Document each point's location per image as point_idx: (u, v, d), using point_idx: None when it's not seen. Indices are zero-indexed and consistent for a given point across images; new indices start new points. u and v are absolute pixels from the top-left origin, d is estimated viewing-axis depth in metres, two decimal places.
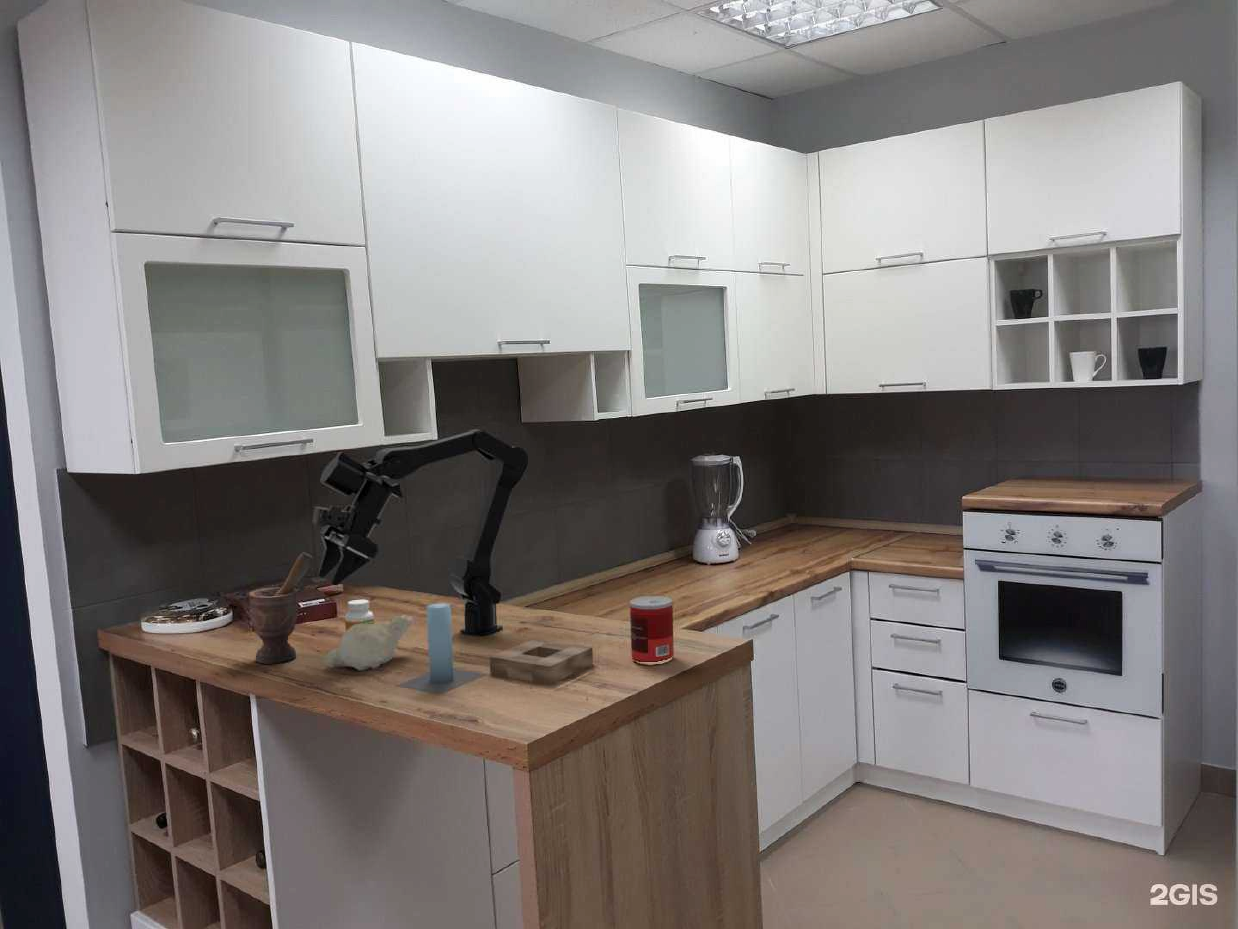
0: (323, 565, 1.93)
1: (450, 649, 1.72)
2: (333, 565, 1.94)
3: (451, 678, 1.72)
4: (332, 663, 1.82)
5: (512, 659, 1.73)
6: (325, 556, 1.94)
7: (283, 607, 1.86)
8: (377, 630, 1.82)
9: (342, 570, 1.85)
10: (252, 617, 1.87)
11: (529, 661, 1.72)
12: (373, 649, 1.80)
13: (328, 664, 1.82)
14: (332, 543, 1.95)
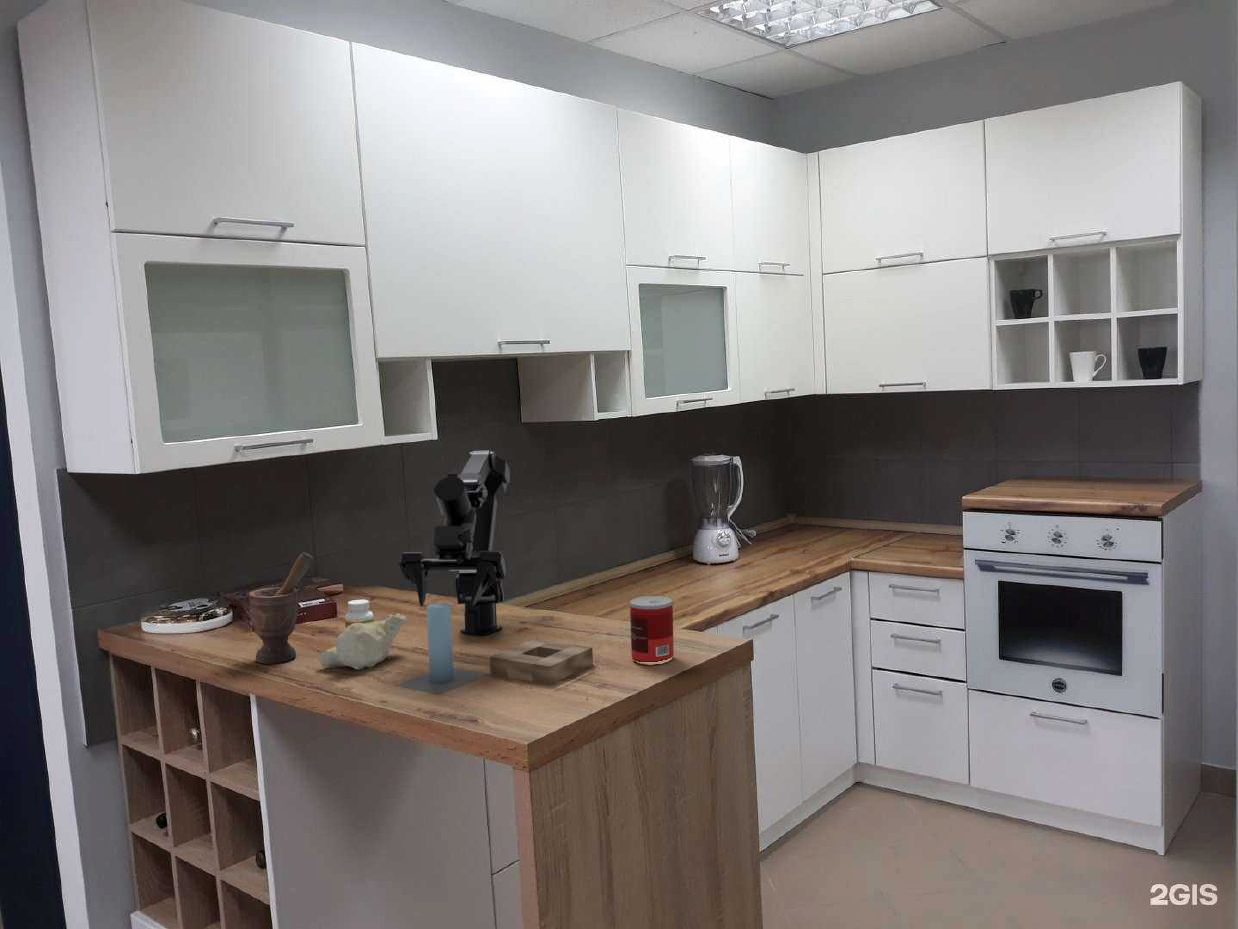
0: (422, 593, 1.79)
1: (450, 649, 1.72)
2: (425, 594, 1.81)
3: (451, 678, 1.72)
4: (328, 663, 1.82)
5: (512, 659, 1.73)
6: (422, 584, 1.79)
7: (283, 607, 1.86)
8: (373, 629, 1.82)
9: (480, 589, 1.79)
10: (252, 617, 1.87)
11: (529, 661, 1.72)
12: (370, 648, 1.80)
13: (323, 664, 1.82)
14: (423, 571, 1.81)
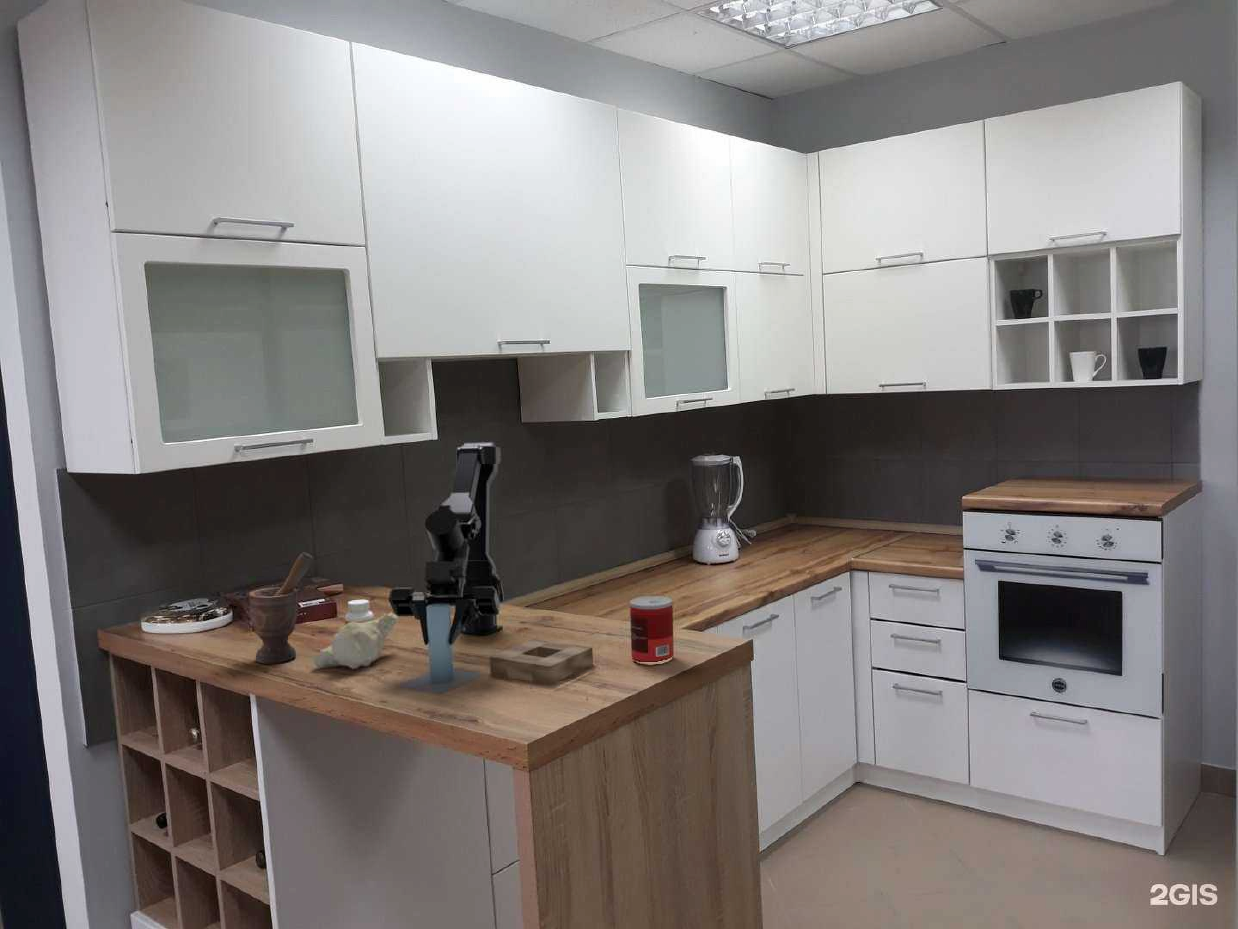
0: (427, 631, 1.72)
1: (450, 649, 1.72)
2: None
3: (451, 678, 1.72)
4: (323, 663, 1.82)
5: (512, 659, 1.73)
6: (426, 621, 1.73)
7: (283, 607, 1.86)
8: (368, 628, 1.83)
9: (458, 627, 1.72)
10: (252, 617, 1.87)
11: (529, 661, 1.72)
12: (366, 647, 1.81)
13: (318, 664, 1.82)
14: None
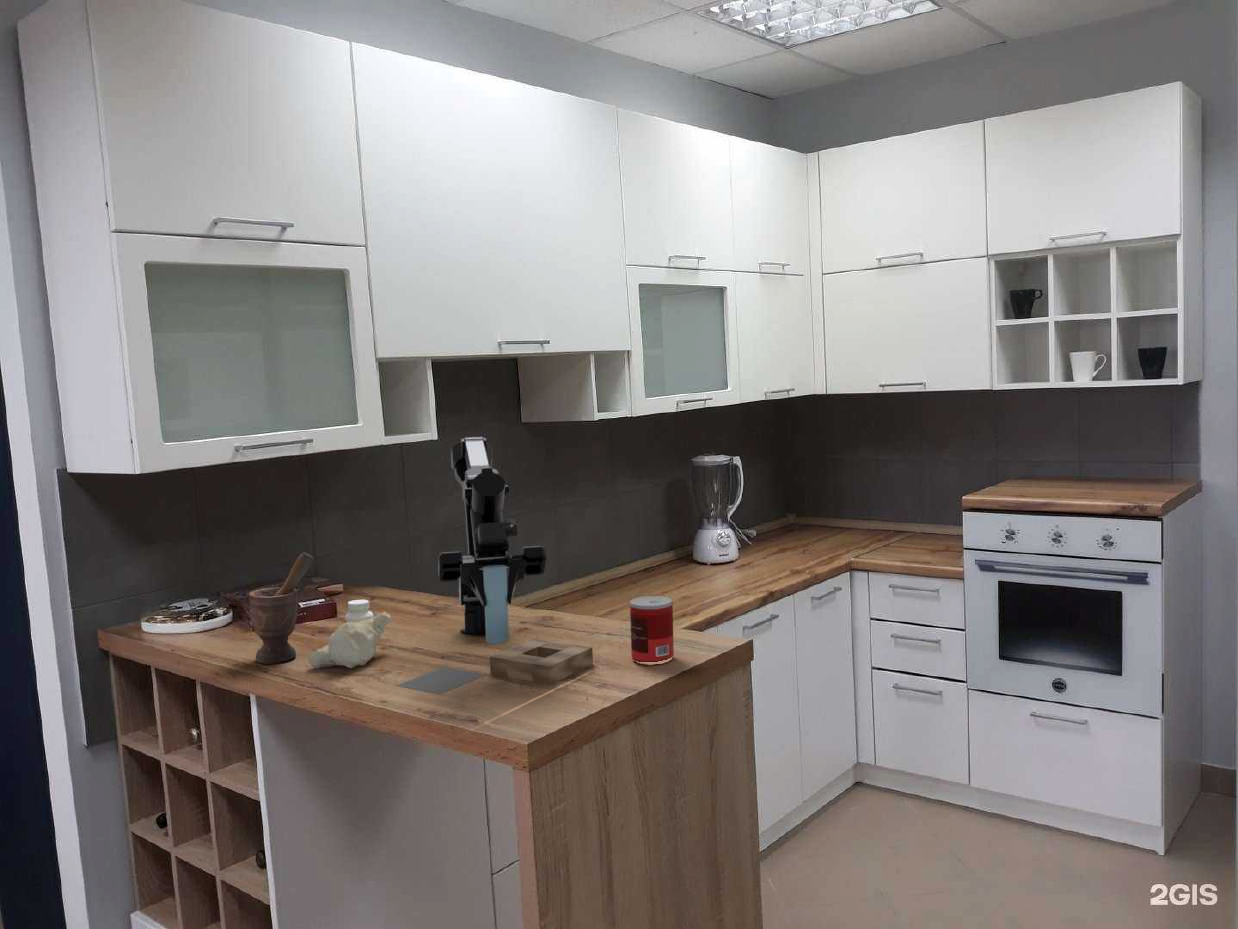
0: None
1: (507, 609, 1.73)
2: None
3: (508, 638, 1.73)
4: (318, 663, 1.82)
5: (512, 659, 1.73)
6: (481, 583, 1.73)
7: (283, 607, 1.86)
8: (364, 628, 1.84)
9: None
10: (252, 617, 1.87)
11: (529, 661, 1.72)
12: (363, 646, 1.82)
13: (313, 665, 1.82)
14: None
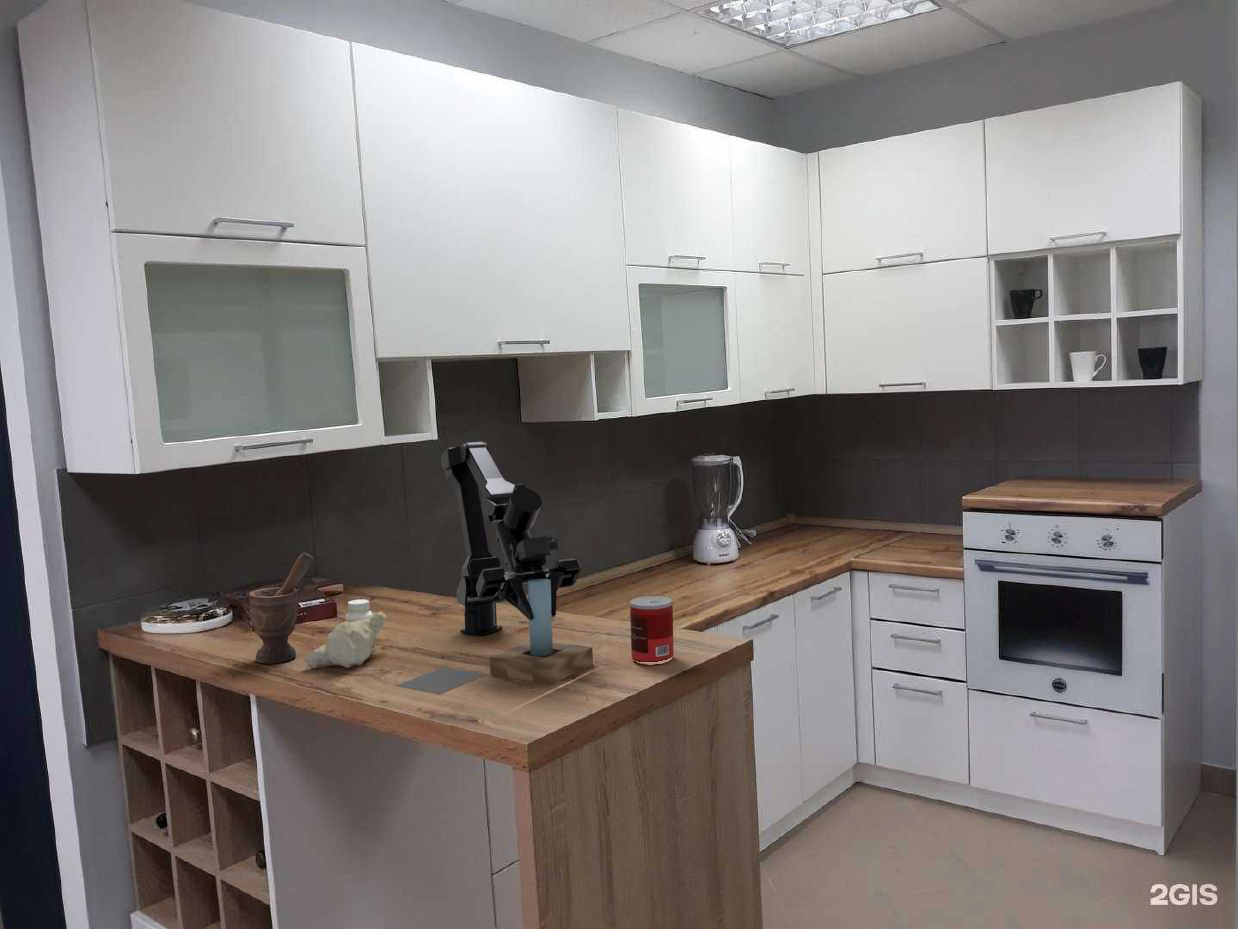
0: None
1: None
2: None
3: (552, 650, 1.77)
4: (315, 663, 1.82)
5: (512, 659, 1.73)
6: None
7: (283, 607, 1.86)
8: (361, 628, 1.84)
9: None
10: (252, 617, 1.87)
11: (529, 661, 1.72)
12: (360, 646, 1.82)
13: (310, 665, 1.82)
14: None
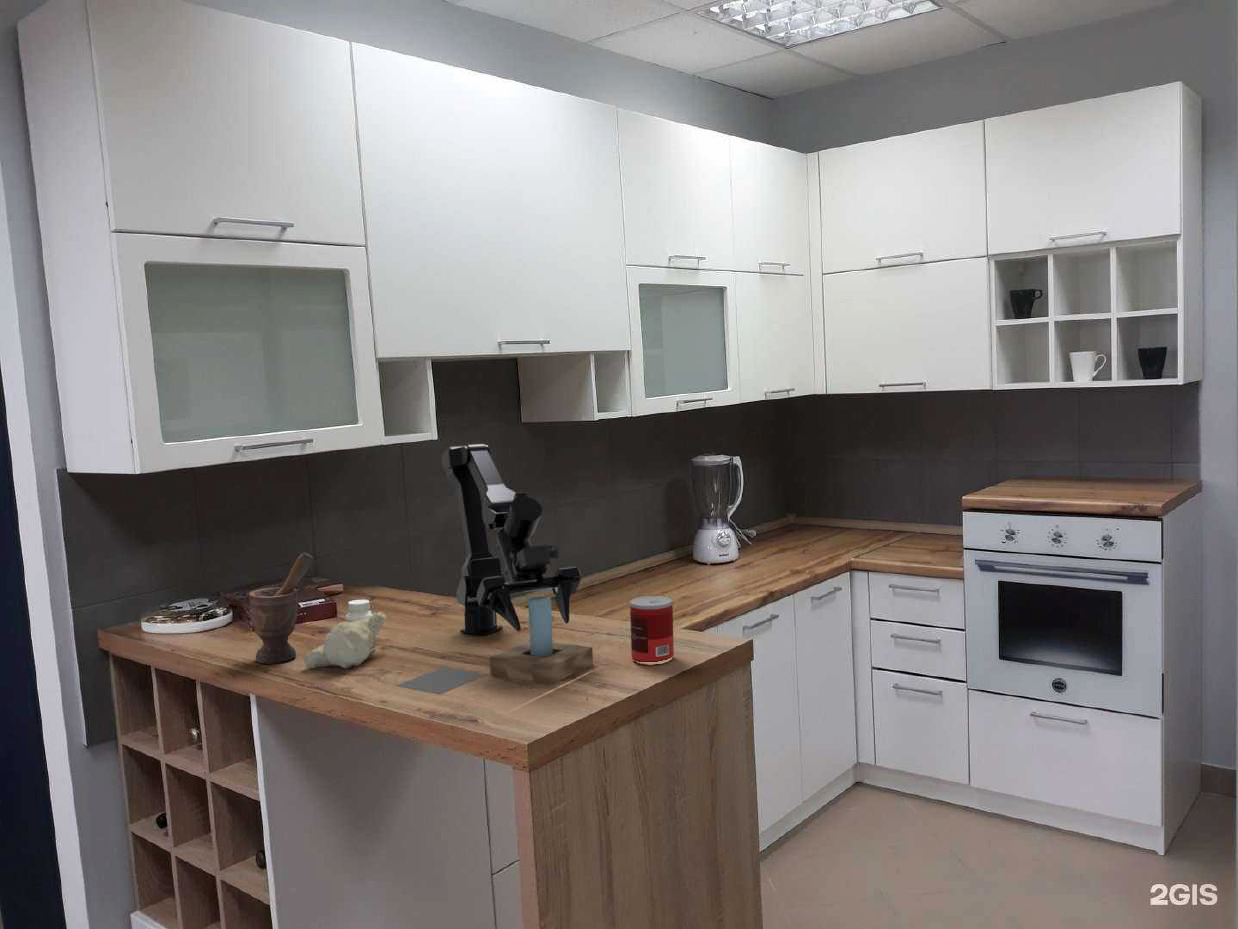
0: None
1: None
2: None
3: None
4: (313, 663, 1.82)
5: (512, 659, 1.73)
6: None
7: (283, 607, 1.86)
8: (359, 628, 1.84)
9: None
10: (252, 617, 1.87)
11: (529, 661, 1.72)
12: (358, 646, 1.82)
13: (309, 664, 1.82)
14: None
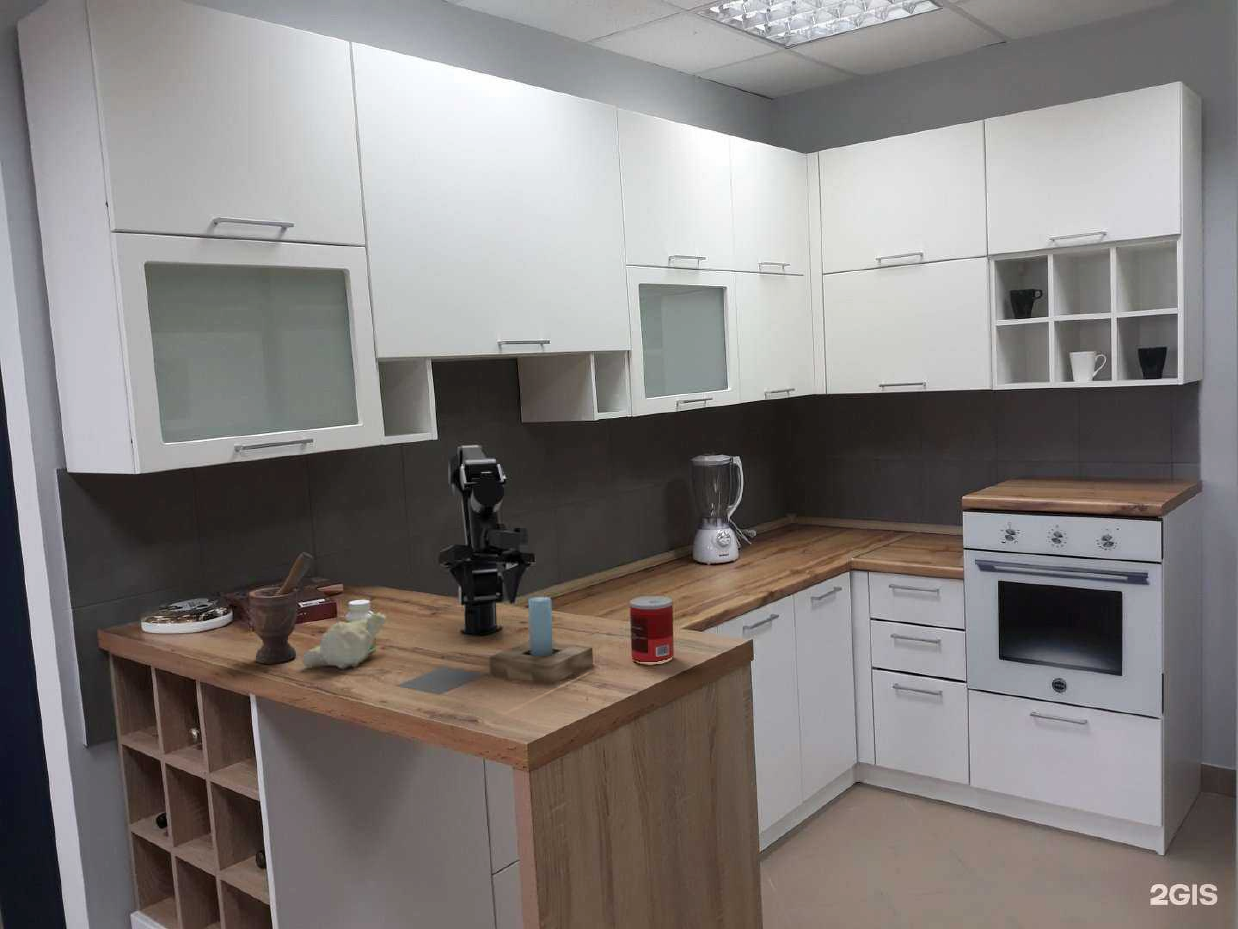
0: None
1: None
2: None
3: None
4: (311, 663, 1.82)
5: (512, 659, 1.73)
6: None
7: (283, 607, 1.86)
8: (357, 628, 1.84)
9: None
10: (252, 617, 1.87)
11: (529, 661, 1.72)
12: (355, 647, 1.82)
13: (306, 664, 1.82)
14: None
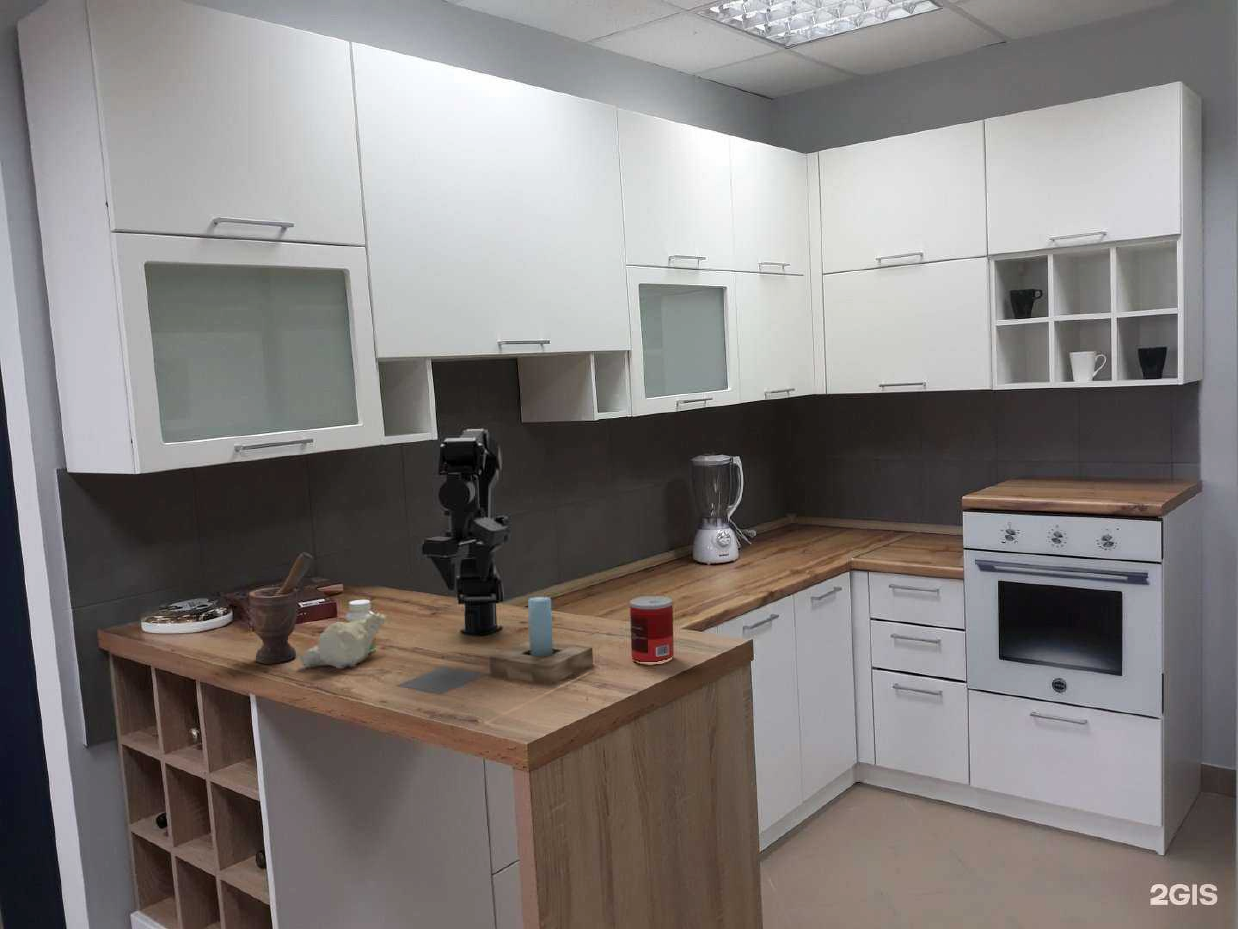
0: None
1: None
2: None
3: None
4: (309, 662, 1.82)
5: (512, 659, 1.73)
6: None
7: (283, 607, 1.86)
8: (355, 628, 1.83)
9: None
10: (252, 617, 1.87)
11: (529, 661, 1.72)
12: (352, 647, 1.81)
13: (304, 664, 1.83)
14: None
